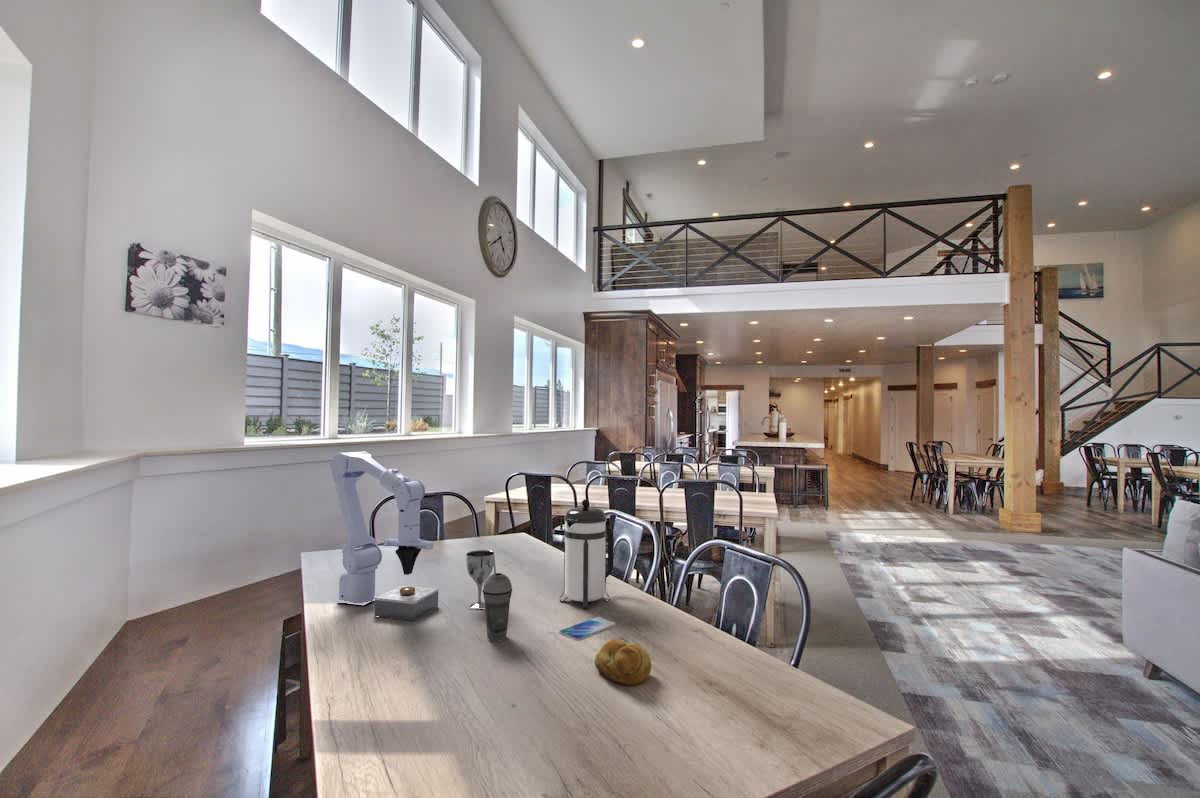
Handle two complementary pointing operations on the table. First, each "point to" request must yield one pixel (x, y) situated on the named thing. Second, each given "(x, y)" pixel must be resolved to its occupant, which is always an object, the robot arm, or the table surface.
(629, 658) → the bread roll
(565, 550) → the coffee press
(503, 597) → the beverage cup
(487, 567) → the wine glass
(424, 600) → the press
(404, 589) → the brass door knob
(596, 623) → the smartphone
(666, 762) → the table surface
